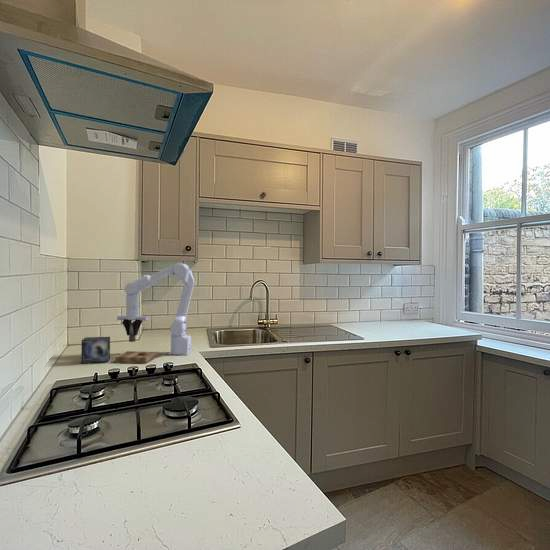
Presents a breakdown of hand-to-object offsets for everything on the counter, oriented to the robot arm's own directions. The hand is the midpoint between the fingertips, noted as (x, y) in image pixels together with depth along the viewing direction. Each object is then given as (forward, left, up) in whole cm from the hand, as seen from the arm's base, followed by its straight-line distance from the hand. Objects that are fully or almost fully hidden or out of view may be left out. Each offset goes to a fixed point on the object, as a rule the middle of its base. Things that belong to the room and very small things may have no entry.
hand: (132, 335), depth 169 cm
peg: (0, 0, -3) cm, 3 cm away
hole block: (-8, +12, -9) cm, 17 cm away
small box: (+8, +17, -9) cm, 21 cm away
